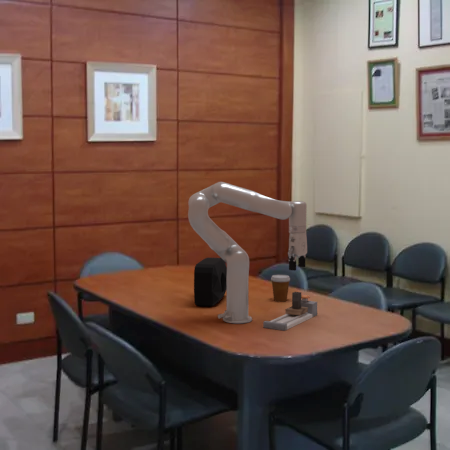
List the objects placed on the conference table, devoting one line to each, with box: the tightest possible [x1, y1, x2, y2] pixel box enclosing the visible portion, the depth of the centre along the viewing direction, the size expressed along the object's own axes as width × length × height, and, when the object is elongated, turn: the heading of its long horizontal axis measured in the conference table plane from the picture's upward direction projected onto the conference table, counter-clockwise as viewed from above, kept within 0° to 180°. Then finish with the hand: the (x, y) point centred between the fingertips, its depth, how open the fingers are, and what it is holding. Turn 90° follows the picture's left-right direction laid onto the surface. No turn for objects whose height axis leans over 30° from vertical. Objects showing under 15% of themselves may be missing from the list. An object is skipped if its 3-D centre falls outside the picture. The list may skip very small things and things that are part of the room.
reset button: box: [301, 294, 311, 302], centre depth 319 cm, size 4×4×2 cm
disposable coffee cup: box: [270, 274, 291, 303], centre depth 349 cm, size 10×10×12 cm
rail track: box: [262, 299, 318, 332], centre depth 308 cm, size 32×10×6 cm, turn 148°
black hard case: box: [193, 257, 227, 307], centre depth 347 cm, size 30×12×20 cm, turn 168°
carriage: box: [284, 291, 308, 316], centre depth 312 cm, size 8×7×9 cm
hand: (297, 268), depth 311 cm, fingers open, 9 cm apart
